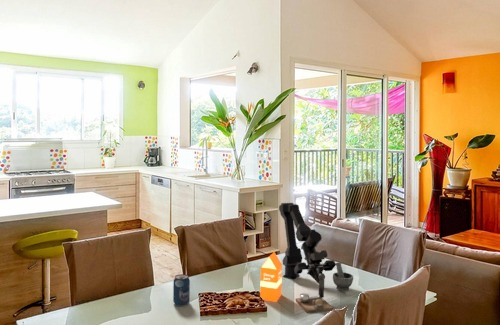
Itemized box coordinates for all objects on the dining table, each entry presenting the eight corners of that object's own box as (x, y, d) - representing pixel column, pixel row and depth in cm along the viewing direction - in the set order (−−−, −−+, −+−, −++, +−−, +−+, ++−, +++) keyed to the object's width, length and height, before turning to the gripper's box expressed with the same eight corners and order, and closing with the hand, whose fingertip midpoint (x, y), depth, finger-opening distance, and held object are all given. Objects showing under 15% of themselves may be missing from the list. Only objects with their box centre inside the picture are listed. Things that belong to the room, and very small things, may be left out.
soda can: (182, 308, 170) (182, 280, 170) (169, 304, 174) (170, 277, 173) (192, 302, 176) (193, 275, 175) (180, 299, 180) (181, 272, 179)
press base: (295, 301, 180) (295, 290, 180) (320, 298, 183) (320, 288, 183) (307, 313, 167) (307, 302, 167) (333, 310, 171) (334, 299, 170)
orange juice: (281, 294, 187) (282, 252, 186) (276, 302, 179) (277, 257, 178) (265, 292, 190) (266, 250, 188) (259, 299, 181) (260, 255, 180)
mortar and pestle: (356, 292, 192) (357, 267, 191) (338, 293, 189) (339, 268, 189) (344, 283, 203) (345, 260, 202) (327, 285, 200) (328, 261, 200)
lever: (298, 299, 178) (299, 273, 177) (322, 297, 181) (322, 271, 180) (302, 303, 174) (302, 276, 173) (326, 300, 177) (327, 274, 177)
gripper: (297, 245, 181) (307, 277, 171) (334, 242, 187) (346, 274, 177) (290, 257, 189) (299, 289, 179) (326, 254, 195) (336, 285, 185)
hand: (320, 284), depth 180 cm, fingers closed, pressing on lever
